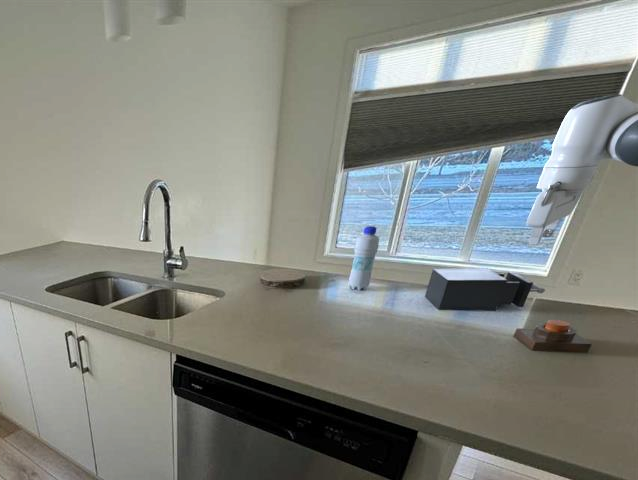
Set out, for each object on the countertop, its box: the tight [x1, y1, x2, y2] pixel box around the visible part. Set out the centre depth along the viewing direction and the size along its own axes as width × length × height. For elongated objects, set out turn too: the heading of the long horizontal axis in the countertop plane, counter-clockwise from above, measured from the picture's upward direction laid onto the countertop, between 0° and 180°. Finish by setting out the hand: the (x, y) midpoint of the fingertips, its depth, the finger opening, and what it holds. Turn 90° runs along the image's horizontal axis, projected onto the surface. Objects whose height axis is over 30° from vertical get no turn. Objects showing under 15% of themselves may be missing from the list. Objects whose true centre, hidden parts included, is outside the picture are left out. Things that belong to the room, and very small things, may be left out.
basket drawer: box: [495, 271, 546, 308], centre depth 113 cm, size 17×10×7 cm, turn 74°
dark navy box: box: [424, 268, 507, 311], centre depth 116 cm, size 14×12×9 cm
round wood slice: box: [258, 268, 307, 290], centre depth 148 cm, size 16×16×3 cm
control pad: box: [513, 322, 592, 354], centre depth 92 cm, size 10×8×4 cm
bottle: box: [347, 225, 380, 291], centre depth 131 cm, size 7×7×20 cm
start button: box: [545, 319, 571, 332], centre depth 91 cm, size 4×4×2 cm
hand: (540, 240), depth 102 cm, fingers open, 8 cm apart
